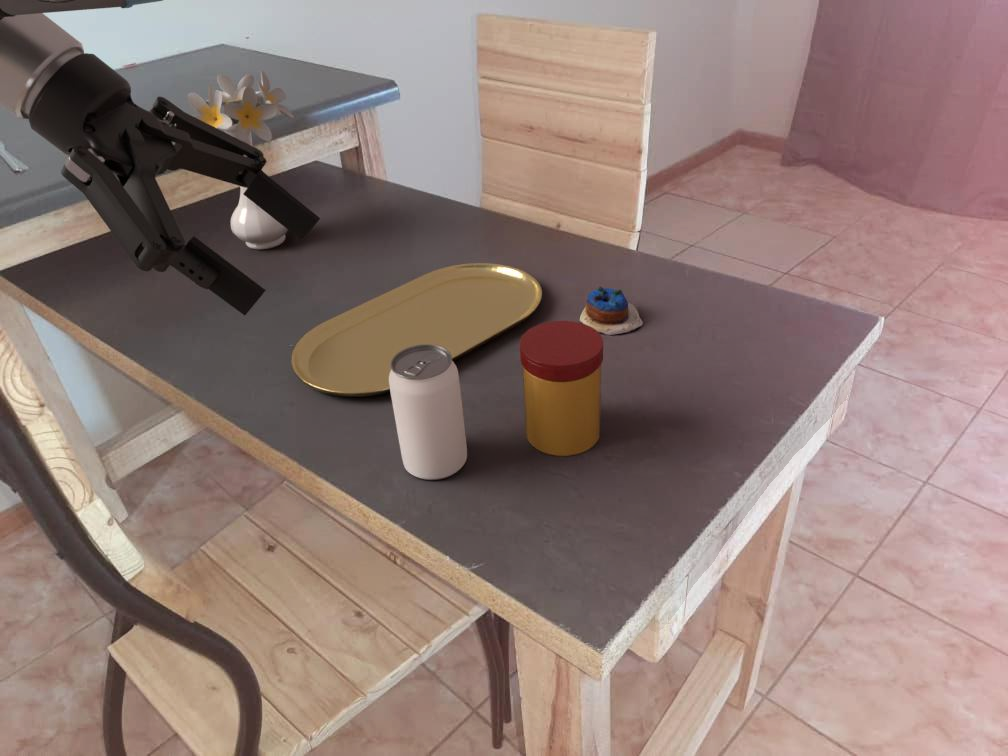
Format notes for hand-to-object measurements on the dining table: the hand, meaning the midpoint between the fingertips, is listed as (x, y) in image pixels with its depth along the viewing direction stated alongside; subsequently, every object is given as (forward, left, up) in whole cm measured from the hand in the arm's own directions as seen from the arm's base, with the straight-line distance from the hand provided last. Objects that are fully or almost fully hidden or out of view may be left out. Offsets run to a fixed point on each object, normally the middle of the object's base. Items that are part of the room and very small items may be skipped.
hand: (286, 263), depth 67 cm
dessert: (+30, -26, -22) cm, 45 cm away
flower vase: (+48, +30, -22) cm, 61 cm away
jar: (+7, -23, -22) cm, 32 cm away
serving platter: (+25, -3, -22) cm, 33 cm away
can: (+1, -11, -22) cm, 24 cm away
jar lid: (+7, -23, -11) cm, 26 cm away
